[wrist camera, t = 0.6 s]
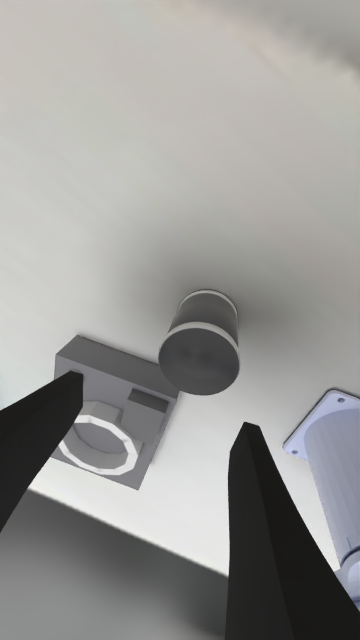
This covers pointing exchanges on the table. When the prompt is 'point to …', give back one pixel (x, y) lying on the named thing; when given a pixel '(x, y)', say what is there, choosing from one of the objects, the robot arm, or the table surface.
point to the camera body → (114, 411)
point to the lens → (202, 344)
